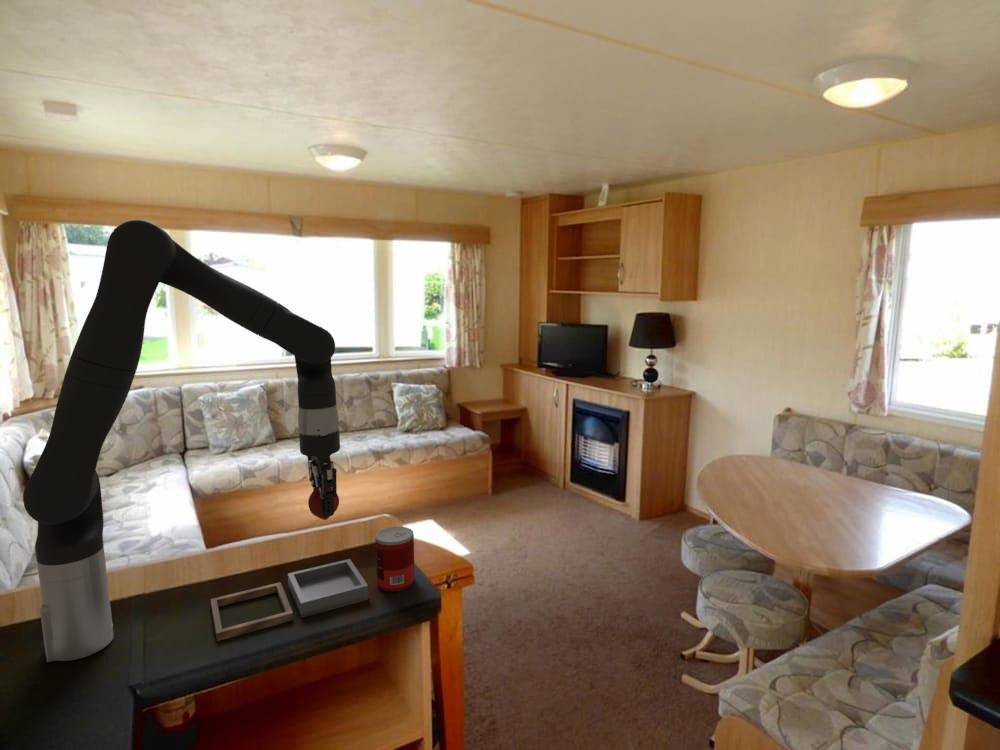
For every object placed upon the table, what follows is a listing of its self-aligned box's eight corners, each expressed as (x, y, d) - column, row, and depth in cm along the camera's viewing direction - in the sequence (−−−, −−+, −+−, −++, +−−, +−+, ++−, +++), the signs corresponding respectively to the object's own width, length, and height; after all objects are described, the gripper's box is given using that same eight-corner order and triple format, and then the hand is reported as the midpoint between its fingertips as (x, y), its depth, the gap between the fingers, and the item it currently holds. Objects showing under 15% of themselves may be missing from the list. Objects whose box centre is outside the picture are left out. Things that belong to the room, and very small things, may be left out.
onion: (321, 528, 113) (318, 488, 111) (303, 520, 116) (301, 482, 115) (345, 518, 117) (343, 480, 116) (328, 511, 121) (325, 474, 119)
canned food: (422, 579, 125) (421, 531, 123) (396, 596, 118) (395, 545, 116) (395, 570, 129) (393, 523, 127) (369, 586, 122) (367, 536, 120)
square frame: (217, 641, 103) (216, 633, 103) (211, 606, 114) (210, 599, 114) (293, 620, 110) (292, 612, 110) (280, 588, 121) (280, 582, 121)
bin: (301, 617, 110) (300, 603, 110) (288, 587, 122) (287, 573, 121) (368, 599, 117) (368, 585, 116) (350, 571, 128) (349, 558, 128)
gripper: (291, 423, 118) (297, 502, 121) (307, 439, 106) (312, 527, 108) (329, 418, 122) (333, 495, 124) (348, 434, 109) (352, 519, 112)
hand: (323, 510), depth 116 cm, fingers closed on onion, 5 cm apart
